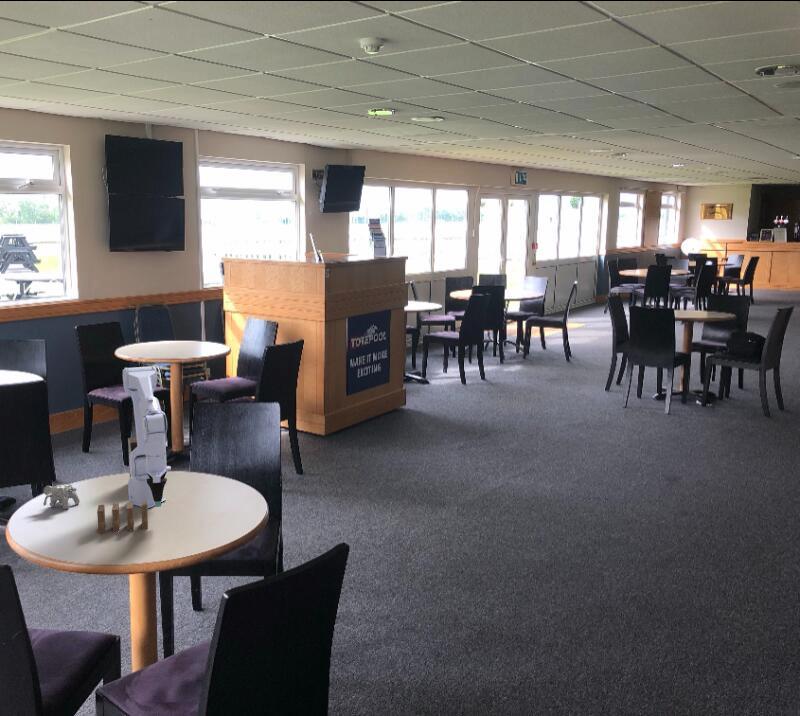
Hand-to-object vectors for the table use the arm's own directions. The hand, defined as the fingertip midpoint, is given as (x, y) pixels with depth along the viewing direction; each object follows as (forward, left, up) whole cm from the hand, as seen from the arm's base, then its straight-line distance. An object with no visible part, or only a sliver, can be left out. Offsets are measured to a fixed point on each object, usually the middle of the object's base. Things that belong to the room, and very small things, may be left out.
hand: (157, 497), depth 225 cm
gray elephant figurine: (-36, -6, -9) cm, 37 cm away
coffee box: (-30, +23, -9) cm, 38 cm away
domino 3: (-6, -6, -9) cm, 12 cm away
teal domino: (0, 0, -2) cm, 2 cm away
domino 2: (-9, -8, -9) cm, 15 cm away
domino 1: (-11, -11, -9) cm, 18 cm away
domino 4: (-3, -3, -9) cm, 9 cm away
